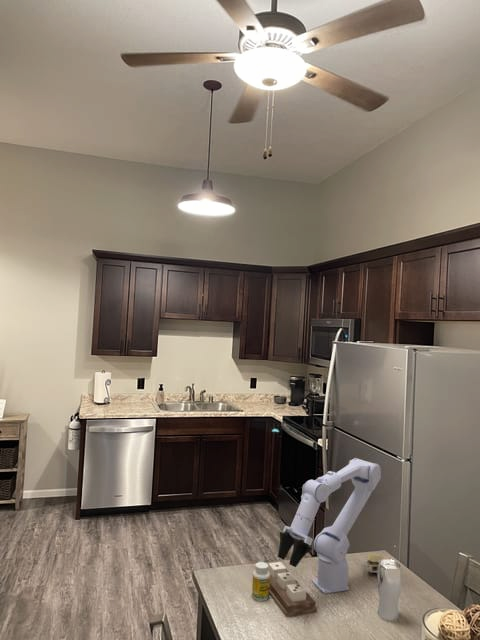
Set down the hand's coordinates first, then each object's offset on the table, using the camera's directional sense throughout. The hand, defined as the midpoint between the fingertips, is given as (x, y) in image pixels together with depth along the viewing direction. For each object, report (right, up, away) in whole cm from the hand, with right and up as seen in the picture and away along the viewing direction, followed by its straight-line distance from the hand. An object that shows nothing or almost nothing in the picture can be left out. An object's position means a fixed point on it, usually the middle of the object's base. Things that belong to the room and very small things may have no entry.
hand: (286, 561), depth 141 cm
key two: (0, -10, +5) cm, 12 cm away
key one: (-2, -10, +12) cm, 16 cm away
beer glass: (+30, -14, -3) cm, 33 cm away
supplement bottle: (-8, -13, +3) cm, 15 cm away
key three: (+3, -10, -1) cm, 11 cm away
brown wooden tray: (0, -13, +5) cm, 14 cm away
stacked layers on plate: (+33, -16, +22) cm, 43 cm away
